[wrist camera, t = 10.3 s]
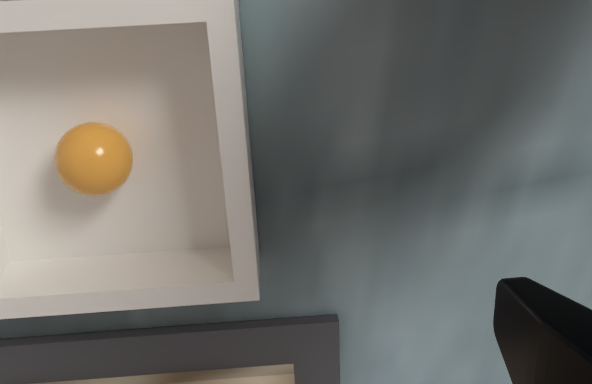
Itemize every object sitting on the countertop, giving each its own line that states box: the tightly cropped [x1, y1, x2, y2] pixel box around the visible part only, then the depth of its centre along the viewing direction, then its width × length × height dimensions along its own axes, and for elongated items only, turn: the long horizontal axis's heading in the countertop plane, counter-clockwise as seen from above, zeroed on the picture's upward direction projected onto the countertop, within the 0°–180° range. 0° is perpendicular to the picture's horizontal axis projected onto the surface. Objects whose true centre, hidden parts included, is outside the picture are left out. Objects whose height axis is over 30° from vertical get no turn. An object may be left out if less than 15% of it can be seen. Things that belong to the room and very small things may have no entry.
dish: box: [0, 0, 260, 319], centre depth 18 cm, size 10×10×3 cm
